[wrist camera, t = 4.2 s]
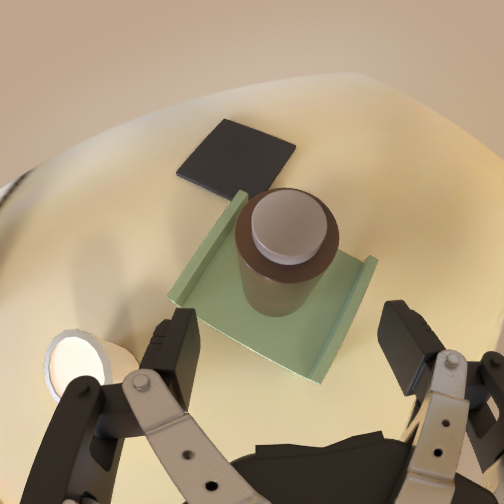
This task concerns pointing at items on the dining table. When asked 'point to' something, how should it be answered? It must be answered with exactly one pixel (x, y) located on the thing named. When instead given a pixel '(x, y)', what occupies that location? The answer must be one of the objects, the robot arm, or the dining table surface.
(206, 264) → the tray
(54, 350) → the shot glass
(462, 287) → the dining table surface
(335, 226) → the brown bottle
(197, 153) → the mat
